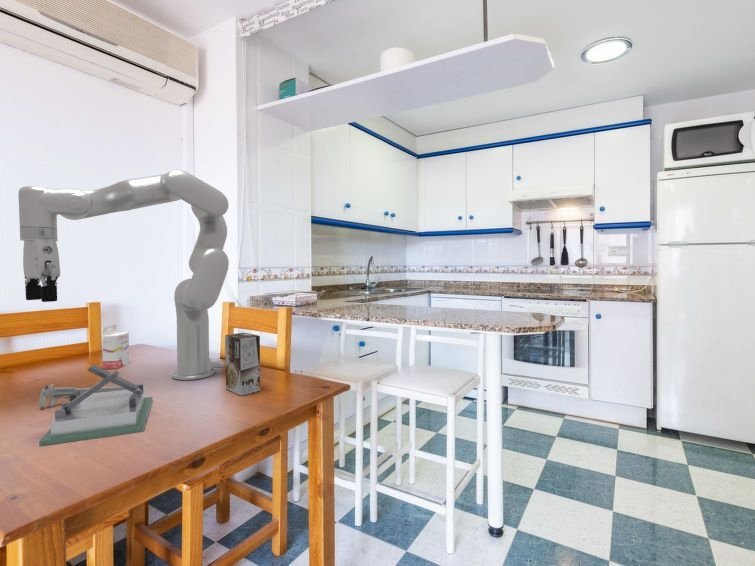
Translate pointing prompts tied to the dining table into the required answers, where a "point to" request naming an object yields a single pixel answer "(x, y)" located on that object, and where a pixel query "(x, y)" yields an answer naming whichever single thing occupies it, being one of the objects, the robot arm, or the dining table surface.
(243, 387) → the coffee box
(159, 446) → the dining table surface
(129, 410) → the base
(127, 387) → the strap
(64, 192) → the robot arm
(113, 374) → the strap
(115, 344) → the ink cartridge box
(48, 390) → the caliper
